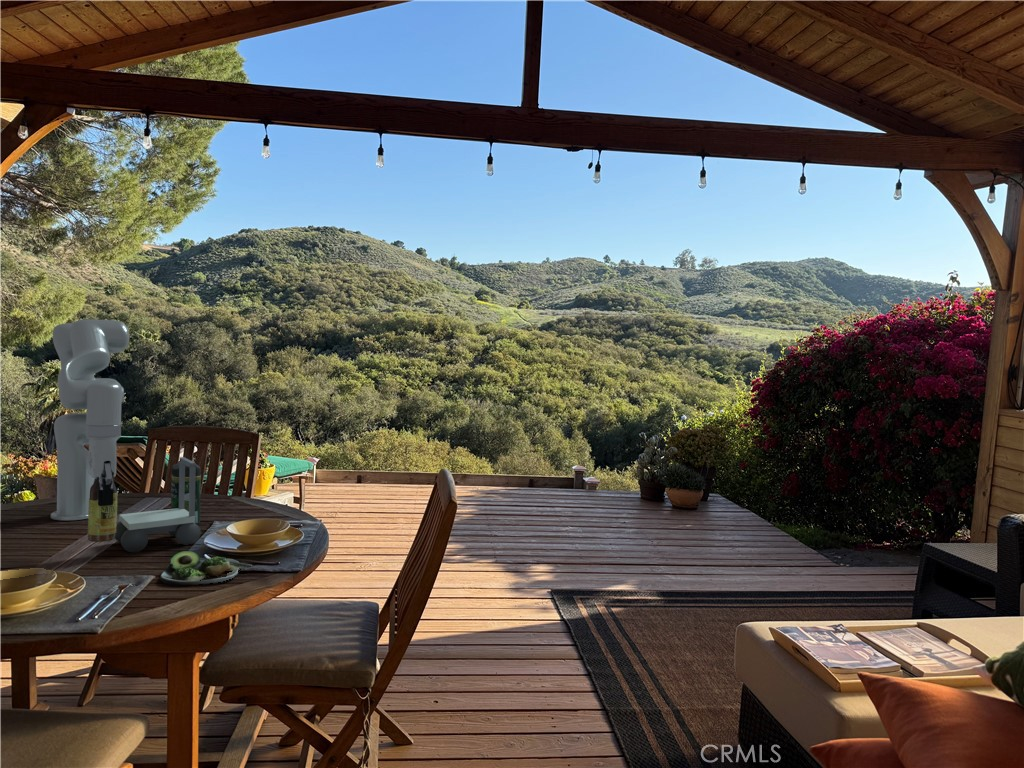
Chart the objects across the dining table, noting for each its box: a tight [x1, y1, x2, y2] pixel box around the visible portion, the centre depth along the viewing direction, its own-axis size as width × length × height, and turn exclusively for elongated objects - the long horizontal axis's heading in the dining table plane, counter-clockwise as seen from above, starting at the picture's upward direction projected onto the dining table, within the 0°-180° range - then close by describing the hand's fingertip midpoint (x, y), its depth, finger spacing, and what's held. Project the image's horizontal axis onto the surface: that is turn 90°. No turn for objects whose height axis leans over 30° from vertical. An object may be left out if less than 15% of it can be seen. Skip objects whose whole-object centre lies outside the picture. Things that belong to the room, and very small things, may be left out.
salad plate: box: [159, 550, 253, 586], centre depth 166 cm, size 19×18×5 cm
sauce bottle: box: [87, 472, 119, 543], centre depth 175 cm, size 7×6×20 cm
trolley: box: [114, 456, 202, 554], centre depth 188 cm, size 12×19×22 cm, turn 130°
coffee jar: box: [170, 461, 202, 525], centre depth 209 cm, size 10×8×19 cm
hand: (102, 502), depth 175 cm, fingers closed on sauce bottle, 6 cm apart
